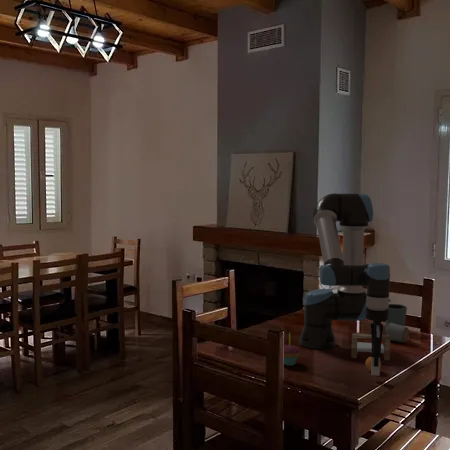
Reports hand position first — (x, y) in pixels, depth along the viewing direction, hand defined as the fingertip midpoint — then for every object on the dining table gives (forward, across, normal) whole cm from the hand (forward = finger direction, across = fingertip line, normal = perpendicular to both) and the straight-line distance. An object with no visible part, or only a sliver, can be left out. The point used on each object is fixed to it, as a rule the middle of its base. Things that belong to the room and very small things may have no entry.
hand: (375, 374), depth 190 cm
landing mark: (+2, +40, 0) cm, 40 cm away
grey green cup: (+2, +70, -14) cm, 71 cm away
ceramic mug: (+2, +54, -14) cm, 56 cm away
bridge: (+2, +26, 0) cm, 26 cm away
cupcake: (+2, +11, +31) cm, 33 cm away
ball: (-1, +10, 0) cm, 10 cm away
